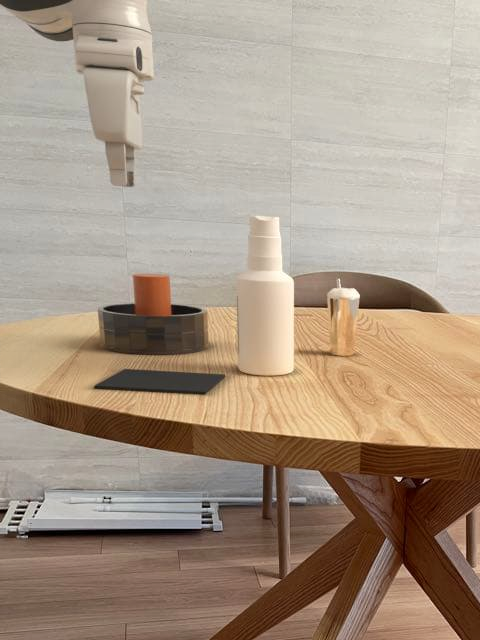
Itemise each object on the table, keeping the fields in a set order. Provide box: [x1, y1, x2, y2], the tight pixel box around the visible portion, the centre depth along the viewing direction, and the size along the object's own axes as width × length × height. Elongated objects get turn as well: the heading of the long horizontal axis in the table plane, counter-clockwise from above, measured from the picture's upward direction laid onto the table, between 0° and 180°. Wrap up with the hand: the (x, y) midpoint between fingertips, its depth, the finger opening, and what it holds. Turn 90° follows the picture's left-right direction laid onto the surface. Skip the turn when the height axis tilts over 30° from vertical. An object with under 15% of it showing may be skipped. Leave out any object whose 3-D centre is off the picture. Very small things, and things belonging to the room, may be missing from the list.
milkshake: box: [326, 278, 361, 357], centre depth 116 cm, size 4×5×10 cm
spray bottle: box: [235, 215, 295, 377], centre depth 100 cm, size 7×7×18 cm
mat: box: [94, 368, 226, 395], centre depth 94 cm, size 12×10×1 cm
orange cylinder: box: [132, 273, 172, 316], centre depth 114 cm, size 5×5×9 cm
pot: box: [97, 302, 209, 356], centre depth 115 cm, size 14×14×5 cm
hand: (123, 186), depth 103 cm, fingers open, 8 cm apart
